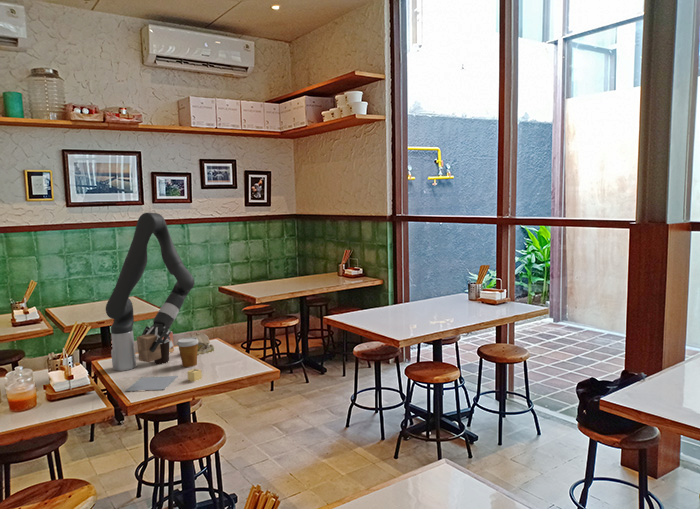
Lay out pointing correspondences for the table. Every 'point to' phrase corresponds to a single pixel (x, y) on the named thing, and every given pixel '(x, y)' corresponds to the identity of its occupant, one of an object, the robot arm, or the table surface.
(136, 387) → the grey mat
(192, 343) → the disposable coffee cup
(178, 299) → the robot arm
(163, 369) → the table surface
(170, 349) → the small box
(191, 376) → the letter cube
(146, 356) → the walnut block
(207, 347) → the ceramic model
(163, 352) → the coffee mug
